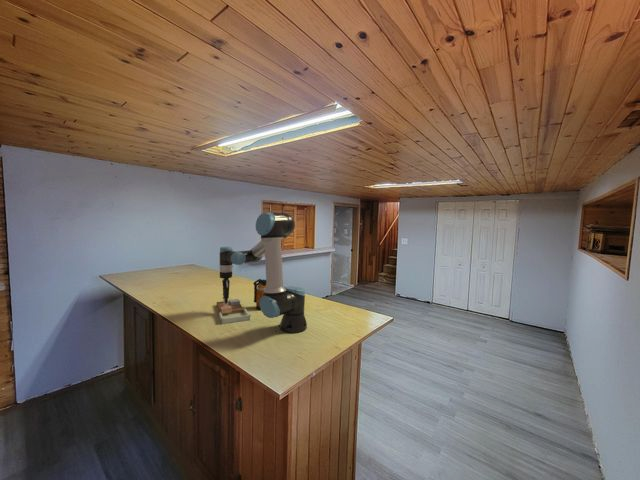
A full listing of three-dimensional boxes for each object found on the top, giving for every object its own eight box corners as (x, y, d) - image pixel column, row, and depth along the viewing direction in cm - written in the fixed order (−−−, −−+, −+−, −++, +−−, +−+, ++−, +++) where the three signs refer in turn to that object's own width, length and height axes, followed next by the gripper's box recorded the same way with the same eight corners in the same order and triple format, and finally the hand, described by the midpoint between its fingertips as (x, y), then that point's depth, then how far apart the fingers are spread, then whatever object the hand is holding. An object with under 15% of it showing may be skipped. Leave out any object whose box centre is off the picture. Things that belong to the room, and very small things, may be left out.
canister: (268, 310, 178) (268, 281, 177) (251, 309, 178) (251, 280, 177) (270, 306, 187) (271, 278, 185) (255, 305, 187) (255, 277, 186)
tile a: (231, 312, 166) (232, 308, 165) (221, 313, 163) (221, 309, 163) (230, 309, 171) (230, 305, 171) (220, 310, 168) (220, 306, 168)
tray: (250, 320, 160) (250, 315, 160) (221, 324, 153) (221, 319, 153) (245, 313, 172) (245, 308, 172) (218, 316, 164) (219, 311, 164)
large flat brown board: (243, 313, 171) (243, 309, 171) (220, 316, 165) (220, 312, 165) (237, 303, 191) (237, 299, 191) (216, 305, 184) (216, 302, 184)
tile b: (240, 304, 180) (240, 301, 180) (230, 306, 177) (230, 302, 177) (238, 302, 185) (238, 298, 185) (229, 303, 182) (229, 299, 182)
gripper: (233, 272, 164) (233, 310, 166) (230, 269, 176) (230, 304, 178) (221, 273, 161) (220, 311, 163) (218, 269, 173) (218, 305, 174)
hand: (225, 307), depth 170 cm, fingers closed
